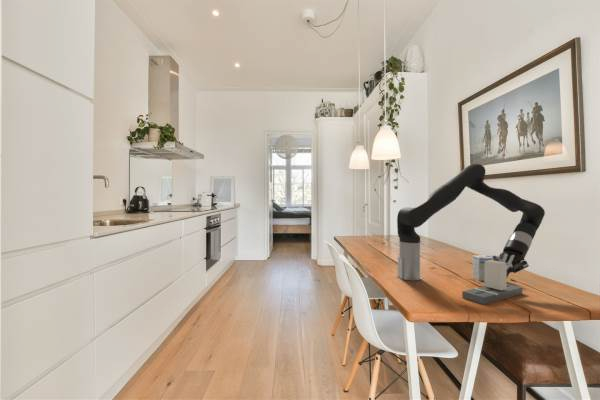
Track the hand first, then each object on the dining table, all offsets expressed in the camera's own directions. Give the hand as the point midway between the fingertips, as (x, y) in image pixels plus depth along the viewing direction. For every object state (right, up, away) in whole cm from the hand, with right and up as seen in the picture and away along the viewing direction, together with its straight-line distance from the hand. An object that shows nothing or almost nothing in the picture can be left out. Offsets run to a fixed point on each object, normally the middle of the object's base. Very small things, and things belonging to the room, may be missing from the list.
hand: (501, 278), depth 116 cm
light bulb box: (+9, -7, +22) cm, 25 cm away
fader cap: (-3, -3, -1) cm, 4 cm away
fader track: (-4, -6, -1) cm, 8 cm away
